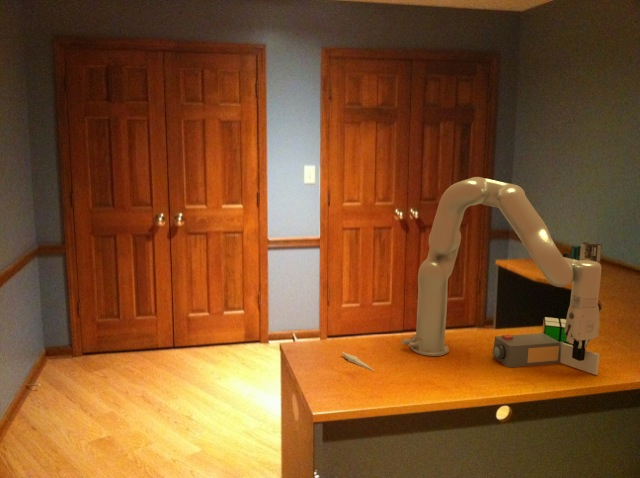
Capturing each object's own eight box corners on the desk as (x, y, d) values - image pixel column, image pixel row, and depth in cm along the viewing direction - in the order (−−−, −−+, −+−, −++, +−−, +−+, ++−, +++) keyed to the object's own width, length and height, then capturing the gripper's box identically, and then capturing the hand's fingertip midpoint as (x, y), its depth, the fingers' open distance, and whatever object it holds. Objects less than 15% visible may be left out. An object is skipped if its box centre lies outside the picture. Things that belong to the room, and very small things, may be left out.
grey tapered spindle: (338, 357, 184) (339, 351, 184) (345, 355, 186) (345, 350, 186) (370, 374, 173) (371, 369, 173) (377, 372, 175) (377, 367, 174)
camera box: (503, 368, 178) (505, 344, 177) (488, 357, 187) (489, 334, 186) (558, 363, 183) (561, 340, 182) (541, 353, 192) (543, 330, 191)
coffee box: (599, 273, 311) (602, 244, 308) (595, 275, 307) (598, 245, 304) (581, 270, 317) (585, 241, 315) (577, 272, 313) (580, 243, 310)
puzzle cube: (572, 347, 198) (574, 320, 196) (574, 358, 189) (577, 329, 187) (541, 343, 201) (543, 316, 199) (542, 353, 192) (544, 325, 190)
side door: (598, 374, 175) (600, 353, 174) (595, 375, 174) (597, 354, 173) (560, 361, 185) (562, 341, 184) (557, 362, 184) (559, 342, 183)
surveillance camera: (566, 242, 334) (583, 245, 327) (564, 262, 337) (580, 266, 329) (561, 243, 331) (578, 246, 323) (559, 264, 333) (575, 267, 325)
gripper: (577, 307, 166) (571, 367, 169) (611, 302, 173) (605, 359, 176) (556, 300, 173) (550, 358, 176) (590, 295, 179) (584, 351, 182)
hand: (577, 359), depth 176 cm, fingers closed
